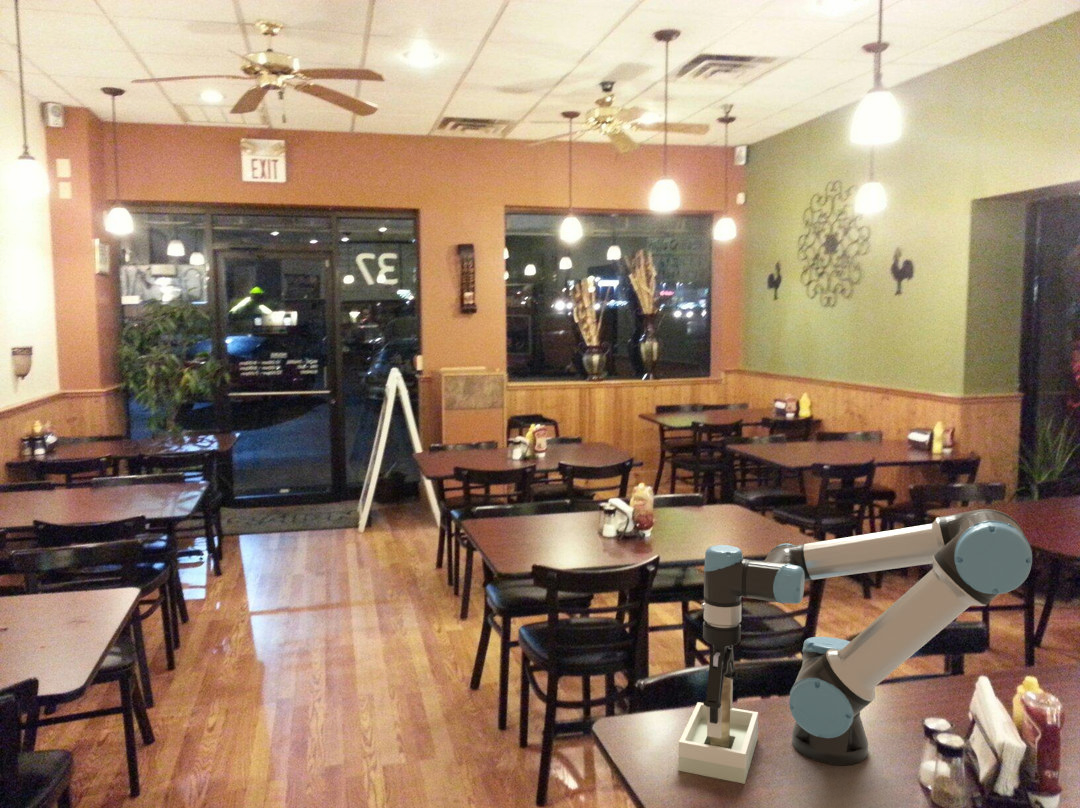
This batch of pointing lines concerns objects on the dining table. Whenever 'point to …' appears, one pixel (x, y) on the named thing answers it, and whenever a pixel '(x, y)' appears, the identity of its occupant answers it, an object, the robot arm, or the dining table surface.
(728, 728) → the peg
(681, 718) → the dining table surface
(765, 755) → the dining table surface
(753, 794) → the dining table surface
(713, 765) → the bore tray
